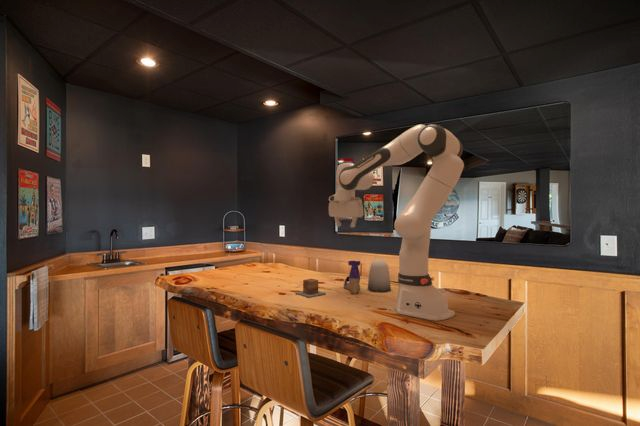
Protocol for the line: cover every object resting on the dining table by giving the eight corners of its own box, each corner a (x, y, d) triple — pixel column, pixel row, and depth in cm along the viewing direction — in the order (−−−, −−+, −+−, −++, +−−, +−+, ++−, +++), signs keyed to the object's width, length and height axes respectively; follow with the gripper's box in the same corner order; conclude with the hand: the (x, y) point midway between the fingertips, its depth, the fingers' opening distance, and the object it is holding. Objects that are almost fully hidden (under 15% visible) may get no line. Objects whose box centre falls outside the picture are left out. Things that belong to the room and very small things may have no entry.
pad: (325, 294, 168) (325, 293, 168) (308, 298, 161) (308, 296, 161) (312, 290, 175) (312, 289, 175) (295, 293, 169) (295, 292, 169)
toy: (390, 287, 181) (390, 257, 181) (391, 292, 170) (391, 261, 170) (368, 286, 183) (368, 257, 183) (367, 291, 172) (367, 260, 172)
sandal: (359, 285, 187) (359, 256, 186) (360, 294, 167) (360, 262, 167) (343, 285, 187) (343, 256, 187) (343, 294, 168) (343, 262, 167)
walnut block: (318, 293, 168) (318, 280, 168) (309, 294, 165) (309, 281, 164) (311, 291, 172) (311, 278, 172) (303, 292, 168) (303, 279, 168)
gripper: (366, 197, 165) (366, 227, 165) (335, 197, 181) (335, 225, 181) (356, 196, 161) (356, 227, 161) (326, 197, 177) (326, 226, 177)
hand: (345, 226), depth 171 cm, fingers open, 8 cm apart
